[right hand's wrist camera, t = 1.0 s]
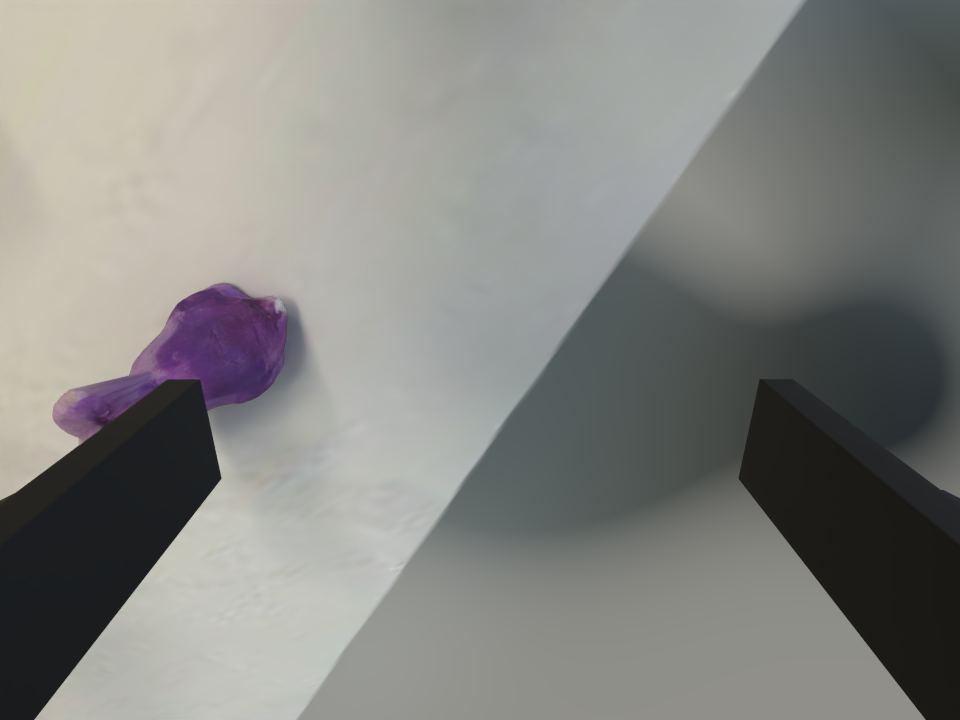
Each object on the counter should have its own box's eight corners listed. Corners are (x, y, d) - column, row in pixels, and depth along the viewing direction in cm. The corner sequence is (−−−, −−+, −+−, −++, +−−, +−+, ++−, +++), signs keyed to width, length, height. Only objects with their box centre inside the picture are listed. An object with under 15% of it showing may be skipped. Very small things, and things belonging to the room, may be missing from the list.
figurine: (173, 398, 42) (22, 521, 28) (164, 271, 38) (-15, 341, 25) (294, 413, 43) (203, 542, 29) (296, 289, 39) (193, 368, 25)
